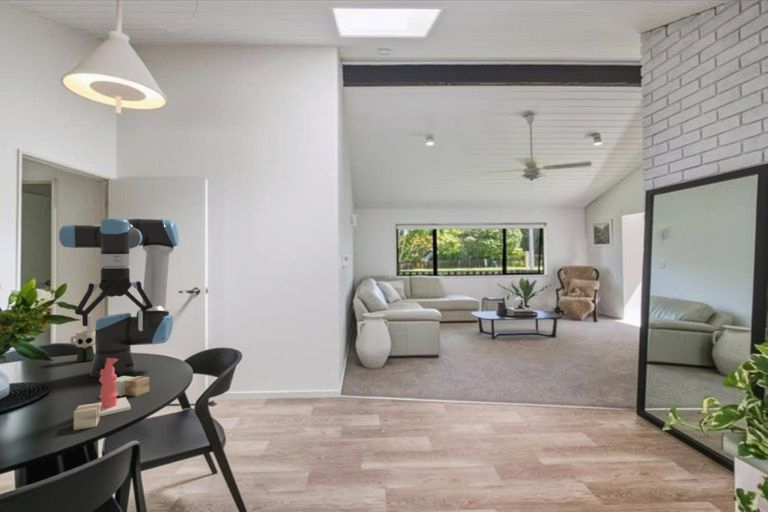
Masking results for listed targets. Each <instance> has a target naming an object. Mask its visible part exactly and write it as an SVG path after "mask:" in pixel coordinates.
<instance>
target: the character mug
mask: <svg viewBox="0 0 768 512" xmlns="http://www.w3.org/2000/svg"><path fill="white" fill-rule="evenodd" d="M69 339H70V341H69V342H70V344H71V345H74V344H75V345H76V347H79V348H78V349H77V350H78V351H77V356H76V361H77V362H84V360H85V361H86V362H87V361H91V360H92V361H93V360H94V358H95V351H94V347H93V346H95V329H91V337H88V336H87V329H85V330H79V331H76V332H75V335H73V336H70V338H69ZM74 339H75V341H74Z"/></svg>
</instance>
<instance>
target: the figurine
mask: <svg viewBox="0 0 768 512" xmlns="http://www.w3.org/2000/svg"><path fill="white" fill-rule="evenodd" d="M106 360H107V361H106V365H105V369H101V371H100V375H101V377H100V378H98V380H99V382H100V384H101V387H100V394H99V396H98V398H99V399H100V402H101V408H111V407H114V406H116V405H117V399H118V398H117V397H118V396H117V395H118V394H119V393H118V392H117V381H116V379H117V378H118V376H117V375H116V374H115V373H114V371H115V370H114V367H113V366H112V365H113V364H114V363H115V362H116V361H118V359H116V358H107V359H106Z"/></svg>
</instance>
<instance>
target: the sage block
mask: <svg viewBox="0 0 768 512" xmlns="http://www.w3.org/2000/svg"><path fill="white" fill-rule="evenodd" d="M134 377H135V376H129V375H120V376H119V377H118V376H117V379H116V381H117V392H118V393H119V394H118V395H117V397H122V396H126V395H125V380H128V379H131V378H134Z"/></svg>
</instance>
